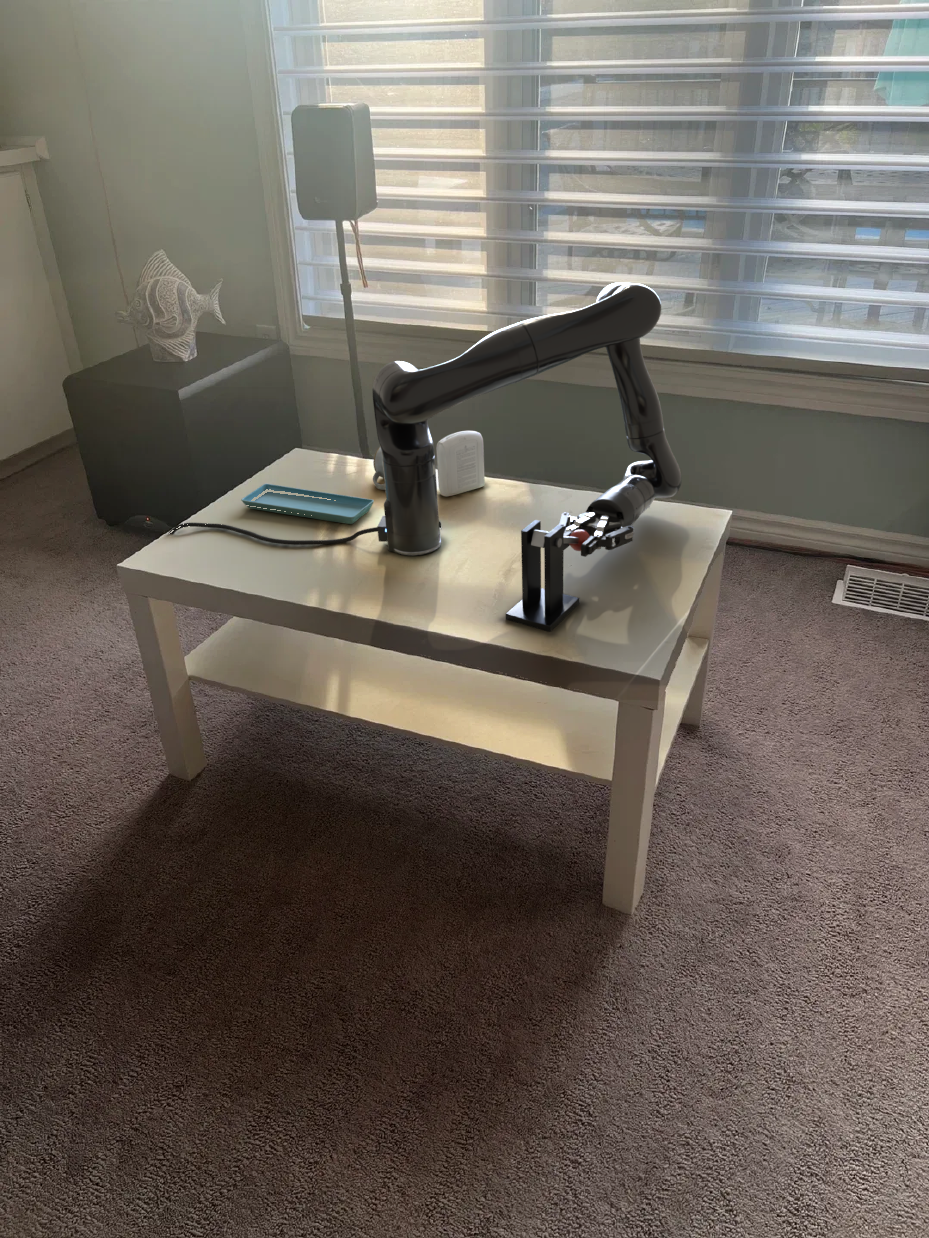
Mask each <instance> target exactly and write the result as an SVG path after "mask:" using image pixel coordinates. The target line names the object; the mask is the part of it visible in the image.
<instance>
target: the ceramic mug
mask: <svg viewBox="0 0 929 1238" xmlns="http://www.w3.org/2000/svg"><path fill="white" fill-rule="evenodd" d="M372 461H373V462H372V463H373V470H374V474H373V476H372V482H373V484H374V487H375V488H376V489H378V490H381V491H386V490H385V483H382V484H380V483H378V480H379V478H382V479H384V470H383V460H382V452H381V447H380V446H379V447H378V448H377V449H376V451H375V453H374V455H373V460H372Z"/></svg>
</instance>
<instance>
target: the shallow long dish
mask: <svg viewBox="0 0 929 1238" xmlns="http://www.w3.org/2000/svg"><path fill="white" fill-rule="evenodd" d="M266 489H268V490H269V489H271V490H274V491H285V492H291V493H298V494H304V495H309V496H314V497H322V498H327V499H331V500H327V499H319V498H312V497H304V496H296V495H288V494H280V493H273V492H267V493H265V494H264V495H262V496H261V497H259V498H258V499H256V500H255V501H251V500H252V499H253V498H254V497H257V496H258V495H259V494H261V493H262V492H263V491H265V490H266ZM334 500H336V501H334ZM240 501H241V502H242V503H243V504H244V505H245V506H246V505H249V506H246V507H247V508H248V509H251V510H252V509H253V510H256V511H257V510H258V511H264V512H270V513H276V514H282V515H287V516H289V515H290V516H293V517H294V516H295V517H302V518H307V519H308V518H309V519H315V520H321V521H327V522H335V523H339V524H346V525H353V524H354V523H356V522H357V521H358V520H359V519H361V518H362V517H363V516H364V515H365V514H367V513H368V512H369V511H370V510H371V508H372V506H373V504H374V502H375V499H371V498H364V497H358V496H351V495H346V494H345V495H344V494H337V493H332V492H331V493H330V492H324V491H317V490H310V489H304V488H297V487H293V486H292V487H291V486H285V485H280V484H271V483H263V484H262V485H260V486H259V487H257V488H256V489H255V490H253V491H252V492H250V493H249V494H247V495H246V496H244V497H242V498H241V500H240ZM250 506H256V507H250ZM257 507H261V508H257ZM263 508H267V509H263ZM270 509H276V510H270ZM277 510H281V511H277ZM284 511H286V512H284ZM291 512H292V513H291ZM297 513H299V514H297ZM304 514H305V515H304ZM311 515H312V516H311Z"/></svg>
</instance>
